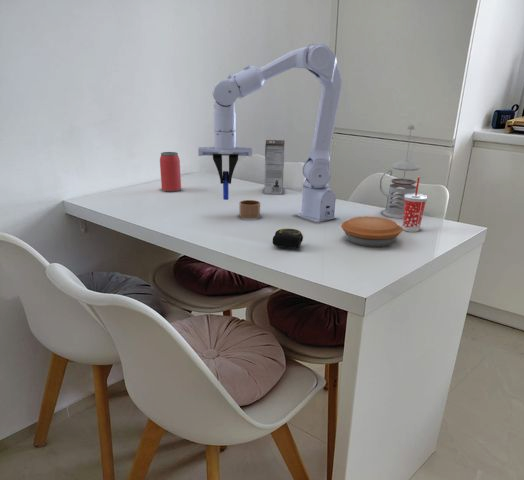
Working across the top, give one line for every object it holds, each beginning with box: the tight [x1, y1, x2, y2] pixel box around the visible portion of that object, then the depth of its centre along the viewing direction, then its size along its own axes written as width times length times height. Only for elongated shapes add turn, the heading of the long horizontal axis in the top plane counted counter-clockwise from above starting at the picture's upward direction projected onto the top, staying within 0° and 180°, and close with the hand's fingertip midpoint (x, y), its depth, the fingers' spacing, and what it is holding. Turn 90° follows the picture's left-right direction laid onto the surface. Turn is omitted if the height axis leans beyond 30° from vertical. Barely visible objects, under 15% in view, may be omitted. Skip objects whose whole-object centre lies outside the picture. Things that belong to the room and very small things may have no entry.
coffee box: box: [264, 139, 286, 195], centre depth 183 cm, size 9×6×16 cm
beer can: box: [159, 151, 182, 193], centre depth 182 cm, size 7×7×12 cm
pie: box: [340, 215, 404, 248], centre depth 138 cm, size 16×16×5 cm
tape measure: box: [272, 228, 304, 250], centre depth 133 cm, size 7×7×4 cm
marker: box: [222, 170, 230, 201], centre depth 151 cm, size 2×2×8 cm
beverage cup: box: [401, 176, 428, 233], centre depth 146 cm, size 6×6×14 cm
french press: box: [379, 124, 421, 219], centre depth 157 cm, size 10×12×25 cm
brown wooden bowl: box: [238, 199, 261, 219], centre depth 156 cm, size 6×6×4 cm
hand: (225, 182), depth 151 cm, fingers closed on marker, 1 cm apart
